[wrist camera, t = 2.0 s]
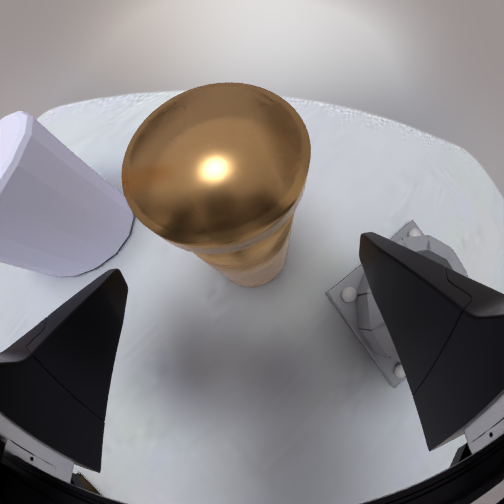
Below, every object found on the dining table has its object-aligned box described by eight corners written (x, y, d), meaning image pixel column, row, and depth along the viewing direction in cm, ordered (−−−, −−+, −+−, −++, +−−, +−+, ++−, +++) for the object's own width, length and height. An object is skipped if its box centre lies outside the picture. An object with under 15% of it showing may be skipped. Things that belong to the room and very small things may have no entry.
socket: (463, 308, 17) (487, 306, 14) (390, 385, 16) (409, 396, 13) (408, 222, 19) (427, 208, 16) (325, 293, 18) (336, 289, 15)
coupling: (304, 259, 19) (352, 163, 6) (242, 304, 19) (174, 288, 6) (259, 203, 20) (237, 63, 8) (200, 244, 20) (101, 148, 7)
